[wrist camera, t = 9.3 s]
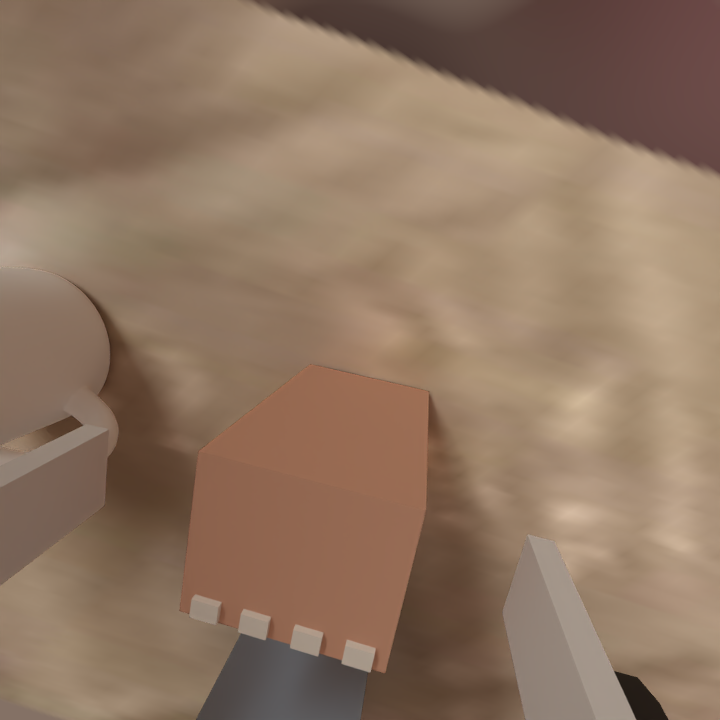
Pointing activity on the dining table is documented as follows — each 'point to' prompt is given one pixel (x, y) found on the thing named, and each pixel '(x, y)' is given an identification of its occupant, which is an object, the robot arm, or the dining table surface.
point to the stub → (312, 516)
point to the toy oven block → (283, 685)
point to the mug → (49, 357)
